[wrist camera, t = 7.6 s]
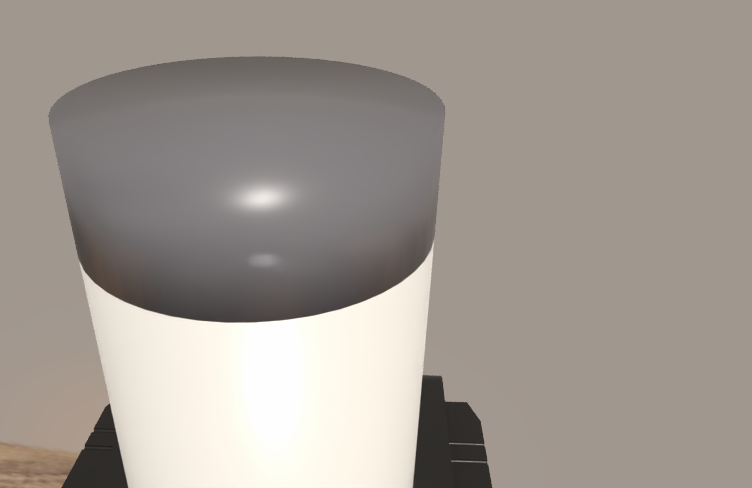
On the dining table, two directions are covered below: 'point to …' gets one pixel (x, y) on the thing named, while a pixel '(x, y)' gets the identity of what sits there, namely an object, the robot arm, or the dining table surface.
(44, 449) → the dining table surface
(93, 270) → the plug
